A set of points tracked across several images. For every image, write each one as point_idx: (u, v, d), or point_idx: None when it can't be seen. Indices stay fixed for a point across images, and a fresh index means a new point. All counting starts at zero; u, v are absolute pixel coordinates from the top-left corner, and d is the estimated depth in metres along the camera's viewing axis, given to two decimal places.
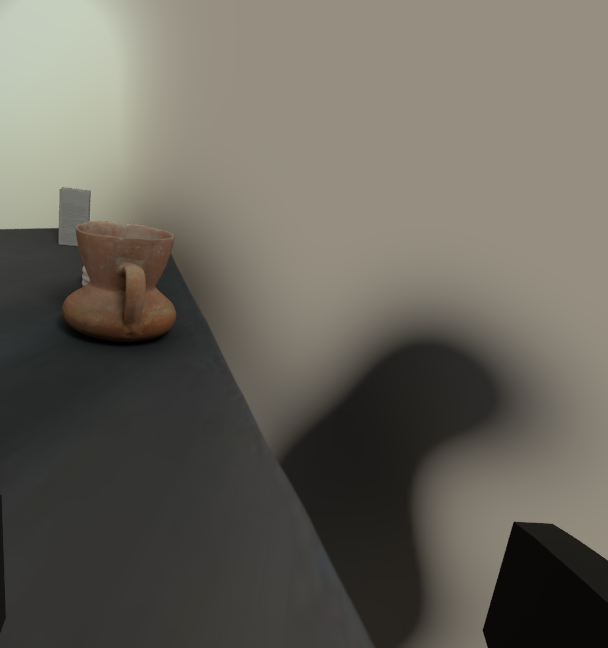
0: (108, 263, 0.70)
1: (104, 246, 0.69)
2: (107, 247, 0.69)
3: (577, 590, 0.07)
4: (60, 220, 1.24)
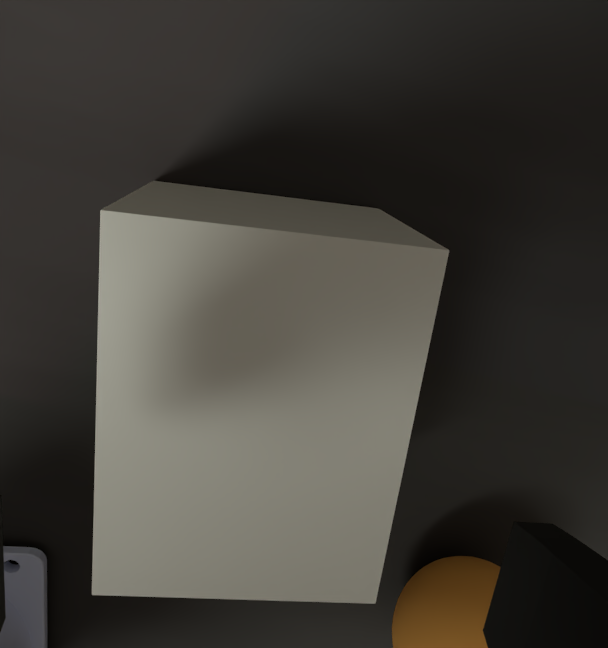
0: None
1: None
2: None
3: (577, 589, 0.07)
4: None
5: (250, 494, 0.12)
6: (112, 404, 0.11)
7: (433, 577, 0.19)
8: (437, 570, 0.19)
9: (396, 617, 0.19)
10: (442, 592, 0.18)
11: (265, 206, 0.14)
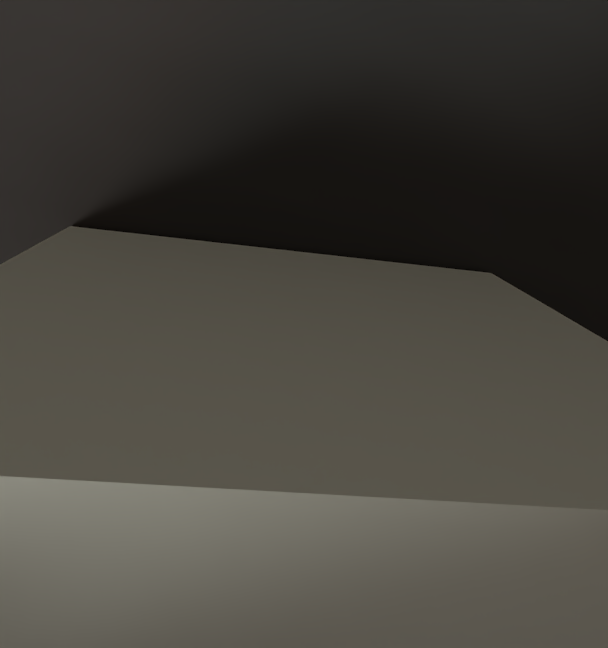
0: None
1: None
2: None
3: None
4: None
5: None
6: None
7: None
8: None
9: None
10: None
11: (292, 302, 0.06)
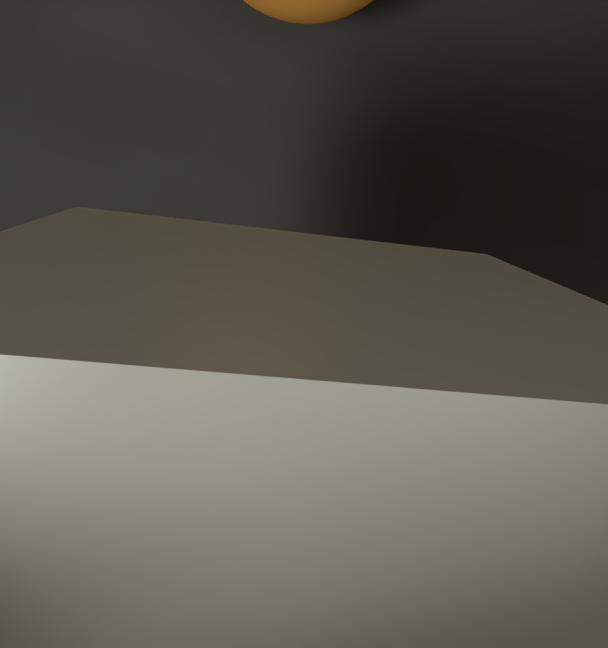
0: None
1: None
2: None
3: None
4: None
5: None
6: None
7: None
8: None
9: None
10: None
11: (294, 263, 0.06)
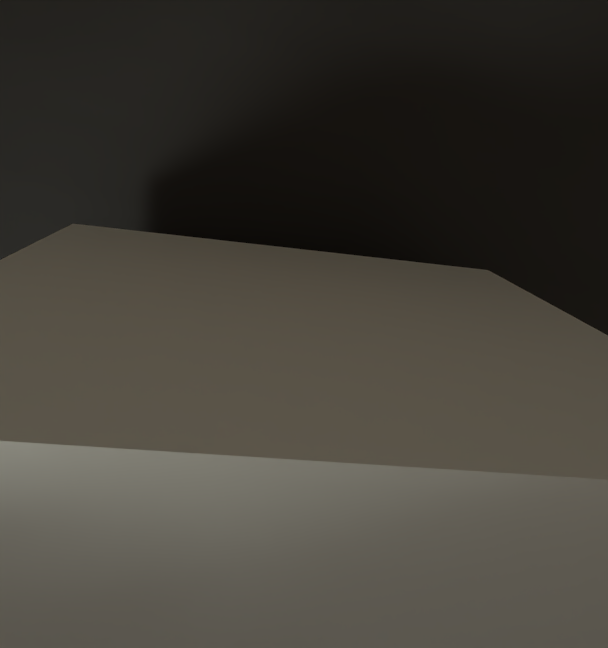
0: None
1: None
2: None
3: None
4: None
5: None
6: None
7: None
8: None
9: None
10: None
11: (292, 293, 0.06)
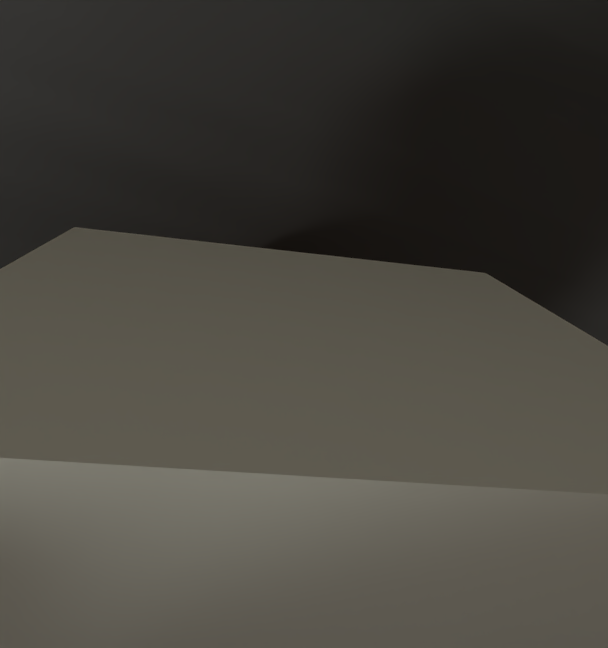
0: None
1: None
2: None
3: None
4: None
5: None
6: None
7: None
8: None
9: None
10: None
11: (290, 300, 0.06)
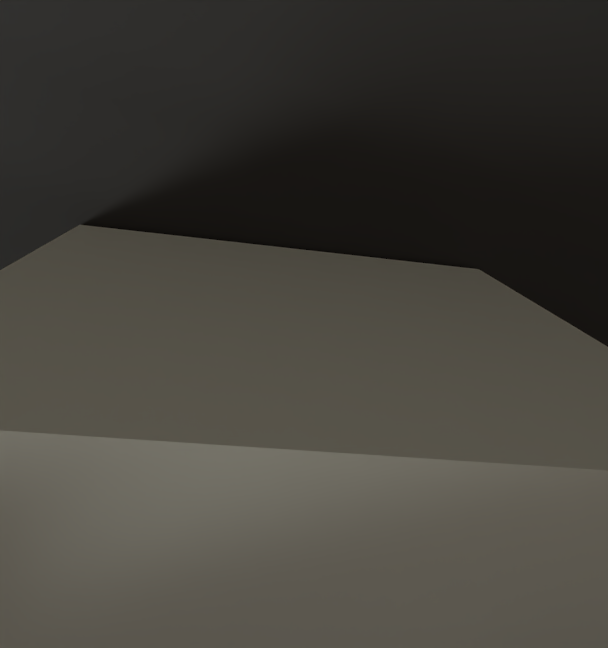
0: None
1: None
2: None
3: None
4: None
5: None
6: None
7: None
8: None
9: None
10: None
11: (289, 294, 0.07)
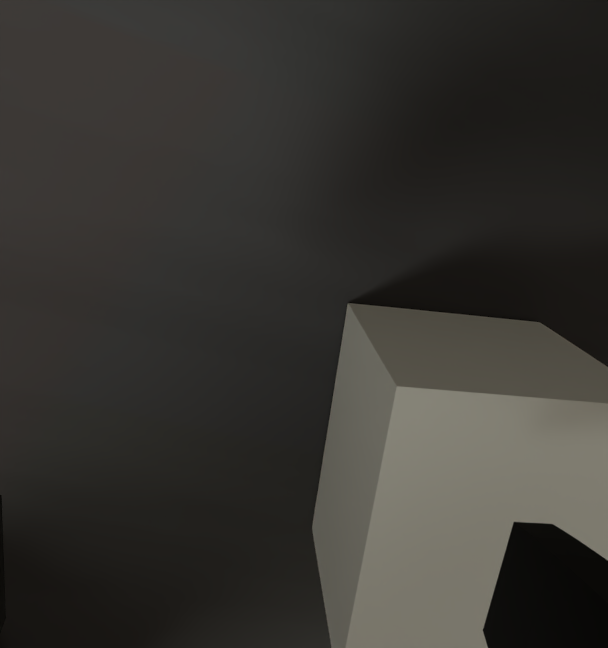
0: None
1: None
2: None
3: (576, 590, 0.07)
4: None
5: (480, 603, 0.14)
6: (380, 534, 0.13)
7: None
8: None
9: None
10: None
11: (473, 343, 0.16)
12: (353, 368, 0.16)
